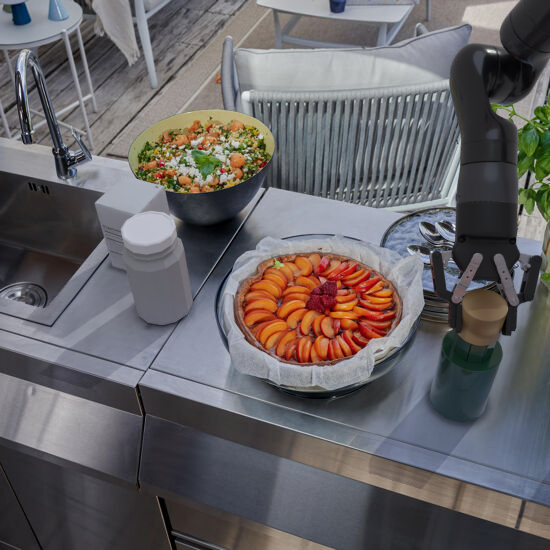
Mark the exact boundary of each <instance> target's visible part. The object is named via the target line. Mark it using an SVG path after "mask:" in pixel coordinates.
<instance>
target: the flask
mask: <svg viewBox="0 0 550 550" xmlns="http://www.w3.org/2000/svg"><path fill="white" fill-rule="evenodd" d="M503 351H504V350H503V347H502V344H501V342H500V341H499V339H498V340H497V341H496V342H494V343H493V344H490V345H487V346H477V345H473V344H470V343H468V342H466V341H465V340H463V339H462V338H461V337H460V336H459V334H458V333H453V328H451V329H450V330H449V331H448V332H446V333H445V335H444V337H442V342H441V346H440V349H439V354H438V357H437V362H436V366H435V371H434V374H433V378H432V383H431V388H430V392H429V399H430V403H431V405H432V407H433V408H434V410H435V411H436V412H437V413H438V414H439V415H440V416H442V417H443V418H446V419H447V420H449V421H453V422H458V423H468V422H472V421H475V420H477V419H478V418H480V417H481V416H482V415H483V413H484V411H485V409H486V406H487V403H488V400H489V398H490V394H491V392H492V389H493V386H494V384H495V381H496V378H497V374H498V372H499V369H500V366H501V364H502V360H503V356H504V352H503Z"/></svg>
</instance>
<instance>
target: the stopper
mask: <svg viewBox="0 0 550 550" xmlns="http://www.w3.org/2000/svg"><path fill="white" fill-rule="evenodd" d="M460 304H462V327H461V333H458V334H459V336H460V337H461V338H462V339H463V340H465V341H466V342H468V343H470V344H473V345H477V346H487V345H490V344H493V343H494V342H496V341H497V340H498V341H499V338H500V337H501V334H502V333H501V330H502V327H503V324H504V321H505V318H506V315H507V312H508V305H507V303H506V301H505V300H504V298H503V297H502V295H501V294H499V293H498V292H496V291H493V290H490V289H486V288H475V289H471V290H470V291H467V292H465V293H464V295H463V297H462V299H461V302H460Z"/></svg>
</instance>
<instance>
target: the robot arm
mask: <svg viewBox="0 0 550 550" xmlns="http://www.w3.org/2000/svg"><path fill="white" fill-rule="evenodd" d="M498 34H499V41H500V44H501V46H499V45H493V44H486V43H479V42H472V43H467V44H466V45H464V46H462V47H461V48H460V49H459V50H458V51H457V53H455V55H454V57H453V59H452V61H451V64H450V67H449V71H448V72H449V73H448V87H449V92H450V97H451V101H452V105H453V108H454V113H455V117H456V122H457V126H458V129H459V130H458V131H459V135H460V151H459V153H460V154H459V170H458V171H459V172H458V177H457V183H456V193H455V227H454V243H453V246H452V247H451V249H450V250H443V251H439V250H435V251H432V252H430V254H429V257H428V259H429V265H430V272H431V273H430V274H431V278H432V279H431V280H432V287H433V293H434V296H435V297H437V298H440V299H442V300H445V301H446V302H447V304H448V307H447V325H448V328H449V329H453V333H461V327H462V304H461V302H462V299H463V297H464V295H465V294H466V291H467V289H468V288H469V286H470V285H471V282H479V281H485V282H491V283H493V282H494V283H495V285H496V287H497V289H498V291H499V292H500V296H502V297H503V298H504V300H505V301H506V303H507V305H508V312H507V315H506V318H505V321H504V324H503V327H502V330H501V333H500V334H501V335H502V336H503V337H511V336H512V332H516V330H517V326H518V307H519V306H520V305H522V304H526V303H528V302H532V301H534V299H535V295H536V291H537V286H538V283H539V277H540V273H541V268H542V264H543V257H542V256H541V255H539V254H533V255H532V254H527V253H522V252H521V251H520V249H519V247H518V243H517V240H518V235H517V234H518V216H519V215H518V212H519V176H518V174H519V173H518V158H519V157H518V153H519V129H518V126H517V125H516V123H514V121H512V120H510V119H507V118H505V117H503V116H501V115H500V114H498V113H496V112H495V111H494V109H493V107H492V105H498V106H499V105H500V106H511V105H514V104H517V103H519V102H521V101H523V100H524V99H526V98H527V97H528V96H529V95H530V94H531V93H532V91H533V89H534V88H535V87H536V84H537V82H538V81H539V79H540V77H541V75H542V74H543V72H544V71H545V69H546V68H547V65H548V63H549V61H550V0H519V1H518V2H517V3H516V4H515V5H514V7H512V9H511V10H510V11H509V12H508V14H507V15H506V16H505V18H504V19H503V21H502V22H501V25H500V28H499V33H498ZM450 259H452V261H453V263H454V264H455V265H456V267H457V269H458V270H459V273H458V275H457V277H456V278H455V281H454V283H453V286H452V288H451V290H448V289H447V288H448V287H447V281H446V275H445V269H444V268H447V267H448V265H449V261H450ZM517 262H519V265H520V269H521V270H522V271H523V274H522V279H521V283H520V288H519V292H518V293H517V291H516V289H515V283H514V281H513V279H512V276H511V273H510V271H511V270H512V269H513V267H514V266H515V265H516V263H517Z"/></svg>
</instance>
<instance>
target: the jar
mask: <svg viewBox="0 0 550 550" xmlns="http://www.w3.org/2000/svg"><path fill="white" fill-rule="evenodd" d="M121 233H122V238H123V242H124V246H125V248H124V250H123V251H122V254H123V259H124V264H125V268H126V270H125V272H126V275H127V279H128V282H129V287H130V291H131V293H132V298H133V302H134V305H135V309H136V313H137V316H138V317H140V318H141V319H142V320H144V321H145V322H146V323H148V324H153V325H157V326H158V325H160V326H165V325H170V324H174V323H177V322H178V321H180V320H181V319H182V318H184V317H185V316H187V314H189V313H190V310H191V308H192V305H193V303H194V299H193V293H192V287H191V281H190V276H189V270H188V264H187V258H186V252H185V248H184V244H183V242H182V239H181V238H180V237H178V232H177V226H176V223H175V220H174V217H172V216H171V215H170V216H169V215H167V214H166V213H164V212H156V211H148V212H143V213H138V214H136V215H134V216H133V217H131V218H129V219H128V220H126V221H125V223H124V225H123V226H122V228H121Z"/></svg>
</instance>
